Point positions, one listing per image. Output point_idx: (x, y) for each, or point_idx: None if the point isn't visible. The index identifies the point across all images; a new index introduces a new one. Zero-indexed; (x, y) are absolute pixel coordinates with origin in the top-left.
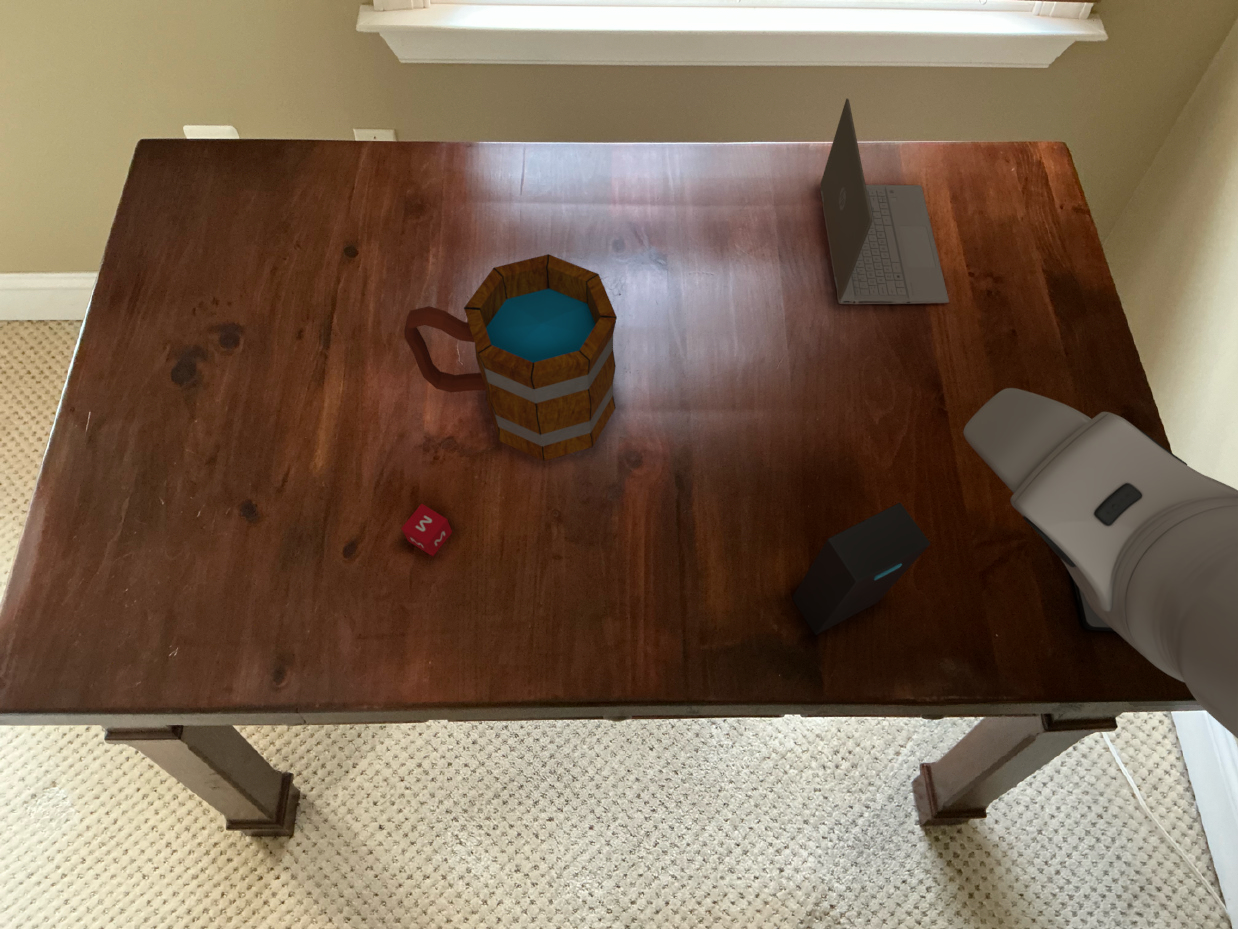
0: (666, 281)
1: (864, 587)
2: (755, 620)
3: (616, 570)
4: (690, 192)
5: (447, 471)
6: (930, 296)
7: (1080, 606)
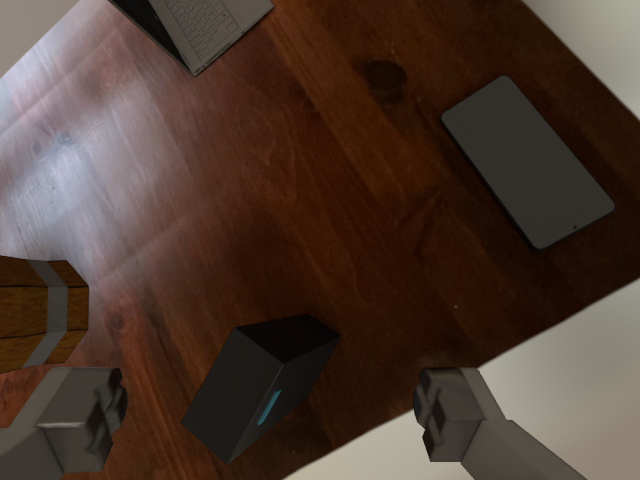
0: (76, 153)
1: (267, 418)
2: None
3: (144, 425)
4: (60, 64)
5: (15, 409)
6: (256, 13)
7: (521, 232)
